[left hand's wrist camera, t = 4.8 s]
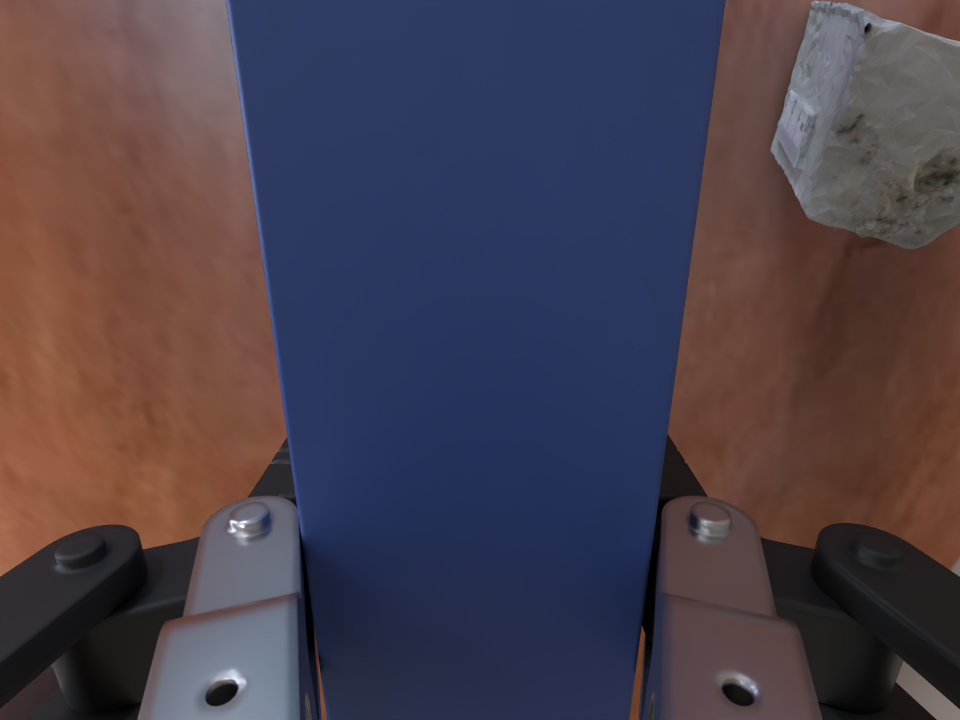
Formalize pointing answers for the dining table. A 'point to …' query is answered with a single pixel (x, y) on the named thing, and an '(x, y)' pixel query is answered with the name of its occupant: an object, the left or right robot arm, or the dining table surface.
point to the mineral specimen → (873, 127)
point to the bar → (476, 330)
